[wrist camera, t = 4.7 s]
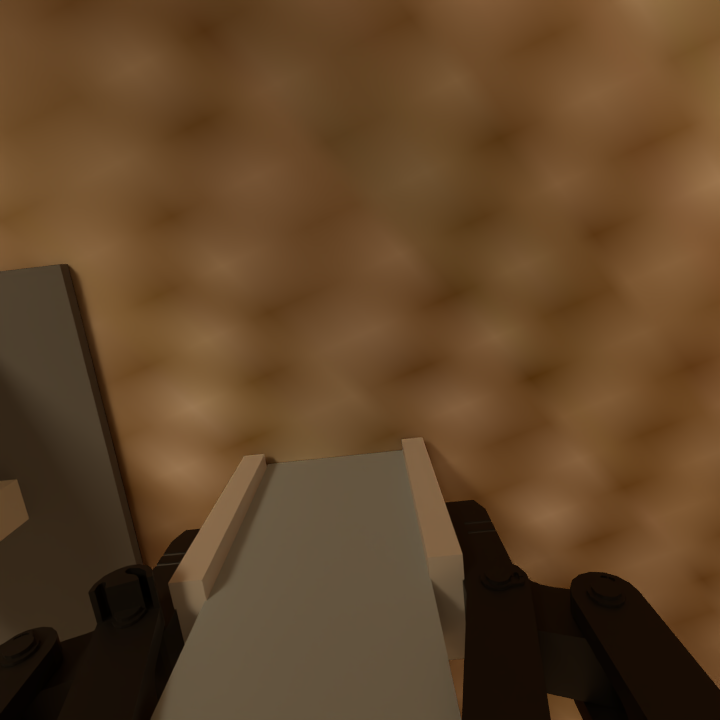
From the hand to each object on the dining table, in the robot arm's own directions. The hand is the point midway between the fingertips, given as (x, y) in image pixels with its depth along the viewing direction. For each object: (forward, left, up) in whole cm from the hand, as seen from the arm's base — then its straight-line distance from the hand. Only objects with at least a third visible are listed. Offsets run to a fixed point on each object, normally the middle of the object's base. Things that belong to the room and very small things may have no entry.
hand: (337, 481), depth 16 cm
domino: (0, 0, 0) cm, 0 cm away
